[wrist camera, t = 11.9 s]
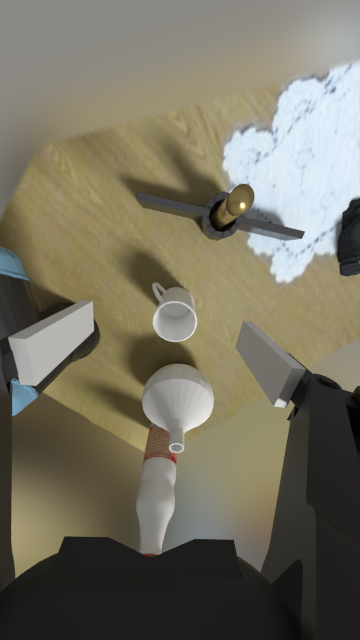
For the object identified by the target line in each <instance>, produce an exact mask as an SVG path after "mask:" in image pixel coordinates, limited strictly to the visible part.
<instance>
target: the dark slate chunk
mask: <svg viewBox="0 0 360 640" xmlns="http://www.w3.org/2000/svg"><path fill="white" fill-rule="evenodd" d="M338 259H340V261H339V263H341V264H340V268H342V269H341V272H342V273H341V275H343V276H351V275H356V274H359V273H360V265H359V261H360V199H357V200H353V201H351V203H350V208H348V210H346V211H345V212H343V221H342V231H341V234H340V236H339V240H338Z"/></svg>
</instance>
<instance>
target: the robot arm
mask: <svg viewBox="0 0 360 640" xmlns="http://www.w3.org/2000/svg"><path fill="white" fill-rule="evenodd" d="M29 281H30V278H29V277H28V276H27V274H26V271H25V269H24V266H23V264H22V261H21V259H20V258H19V256H18V255H17V254H16V253H14V252H13V251H11V250H9V249H6V248H3V247H0V640H360V386H358V387H357V388H356V389H355V390H354V392H353V393H352V392H349V391H345V390H342V388H341V387H340V386H339V385H338V384H337V383H336V382H334V381H333V380H331V379H329V378H327V377H325V376H323V375H319V374H312V373H311V372H310V371H309V370H308V369H307V368H306V367H304V366H303V365H302V364H301V363H299V361H297V360H296V359H295V358H294V357H293V356H292V355H291V354H289V353H288V352H286V351H285V350H283V349H282V348H281V347H280V346H279V345H278V344H277V343H275V342H274V341H273V340H272V339H271V338H270V337H269V336H268V335H266V334H265V333H264V332H263V331H262V330H261V329H260V328H258V327H257V326H256V325H255V324H254V323H253V322H251V321H243V324H242V328H241V331H240V334H239V337H238V341H237V344H236V349H237V350H238V352H239V353H240V355H241V356H242V358H243V359H244V361H245V363H246V364H247V366H248V367H249V369H250V370H251V372H252V373H253V375H254V376H255V378H256V380H257V381H258V383H259V384H260V386H261V387H262V389H263V390H264V392H265V393H266V395H267V396H268V398H269V400H270V401H271V402H272V404H273V406H274V407H287V405H288V404H289V402H290V400H291V401H292V402H293V403H294V404H295V406H294V408H293V410H292V412H291V414H290V415H289V417H288V419H287V420H289V421H290V419H291V421H290V427H289V433H288V439H287V445H286V451H285V457H284V463H283V469H282V475H281V481H280V486H279V492H278V498H277V505H276V510H275V516H274V522H273V528H272V534H271V540H270V545H269V549H268V553H267V555H266V558H265V561H264V563H263V566H262V570H261V573H260V572H259V571H258V570H256V569H255V568H254V567H253V566H252V565H250V564H249V563H247V562H246V561H244V560H243V559H241V558H240V557H238V556H237V554H236V549H235V544H234V540H214V539H194V540H192V541H189V542H187V543H185V544H182V545H180V546H178V547H176V548H173V549H171V550H168V551H166V552H164V553H161V554H159V555H157V556H154V557H149V556H146V555H144V554H142V553H140V552H137V551H136V550H133V549H131V548H129V547H127V546H125V545H123V544H121V543H119V542H117V541H115V540H113V539H111V538H108V537H64V539H63V542H62V544H61V547H60V549H59V552H58V553H57V554H54V555H52V556H50V557H48V558H46V559H44V560H43V561H40V562H38V563H37V564H36V565H34V566H32V567H31V568H30V569H28V570H27V571H25V572H24V573H22V574H21V575H20V576H19V577H17V578H16V579H15V567H14V559H13V554H12V548H11V547H12V546H11V489H12V485H11V484H12V483H11V482H12V416H14V415H16V414H17V413H19V412H20V411H21V410H22V409H23V408H25V407H26V406H27V405H28V404H29V403H30V402H31V401H34V400H35V399H36V398H37V396H38V395H39V394H40V393H41V392H42V391H43V390H44V389H45V388H46V387H47V386H48V385H49V384H50V383H51V382H52V381H53V380H54V379H55V378H56V377H57V376H58V375H59V374H60V373H61V372H62V371H63V370H64V369H65V368H66V367H67V366H68V365H69V364H70V363H72V362H74V361H77V360H78V359H81V358H83V357H85V356H87V355H89V354H90V353H91V352H92V351H93V350H94V349H95V348H96V346H97V345H98V342H99V339H100V332H99V328H98V325H97V323H96V321H95V320H94V319H93V301H87V300H82V301H80V302H78V303H76V304H74V305H72V304H67V303H60V304H55V305H53V306H50V307H48V308H46V309H44V310H43V311H41V312H40V313H39V311H38V308H37V305H36V301H35V298H34V295H33V292H32V288H31V285H30V282H29Z"/></svg>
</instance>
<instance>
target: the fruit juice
mask: <svg viewBox="0 0 360 640" xmlns="http://www.w3.org/2000/svg"><path fill="white" fill-rule="evenodd" d="M169 440H170V433H169V432H168V431H167V430H165V429H163V428H161V427H159V426H157V425H156V424H154V423H153V422H152V423H151V425H150V428H149V434H148V439H147V444H146V450H145V456H144V461H143V466H142V472H141V489H140V491H139V494H138V497H137V503H136V510H137V515H138V519H139V523H140V538H141V546H140V551H139V552H140V553H142V554H144V555H146V556H149V557H154V556H157V555H159V554H161V553H162V552H161V549H162V543H163V539H164V534H165V531H166V527H167V524H168V522H169V520H170V518H171V516H172V514H173V511H174V505H175V498H174V491H173V486H174V483H175V478H176V456H177V453H174V452H171V451H170V450H169Z"/></svg>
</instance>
